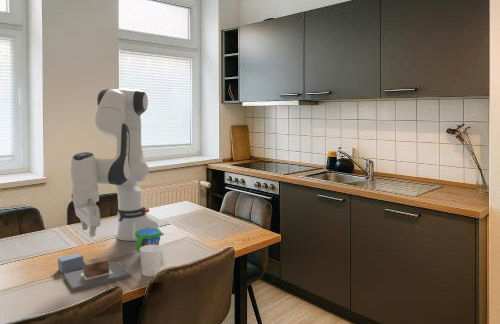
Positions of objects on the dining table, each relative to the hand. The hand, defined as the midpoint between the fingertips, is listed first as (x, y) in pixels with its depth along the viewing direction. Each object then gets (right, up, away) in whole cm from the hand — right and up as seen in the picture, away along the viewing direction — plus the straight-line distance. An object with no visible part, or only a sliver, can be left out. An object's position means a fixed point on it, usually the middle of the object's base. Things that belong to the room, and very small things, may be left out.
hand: (88, 232), depth 149 cm
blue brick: (-10, -16, +8) cm, 20 cm away
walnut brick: (+3, -15, 0) cm, 15 cm away
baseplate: (+3, -17, 0) cm, 17 cm away
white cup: (+22, -16, +4) cm, 28 cm away
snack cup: (+17, -14, +24) cm, 32 cm away
